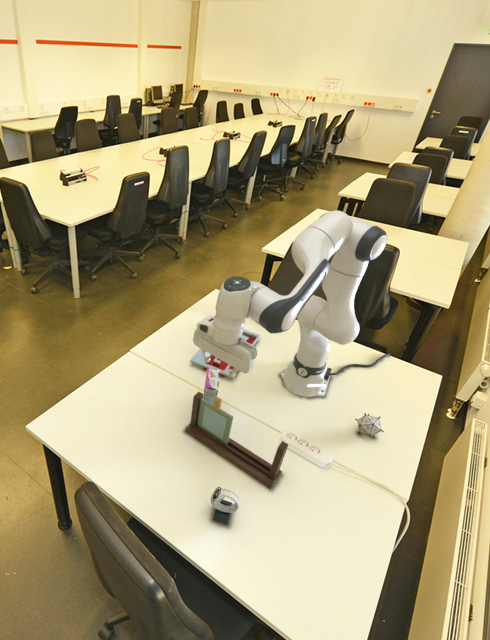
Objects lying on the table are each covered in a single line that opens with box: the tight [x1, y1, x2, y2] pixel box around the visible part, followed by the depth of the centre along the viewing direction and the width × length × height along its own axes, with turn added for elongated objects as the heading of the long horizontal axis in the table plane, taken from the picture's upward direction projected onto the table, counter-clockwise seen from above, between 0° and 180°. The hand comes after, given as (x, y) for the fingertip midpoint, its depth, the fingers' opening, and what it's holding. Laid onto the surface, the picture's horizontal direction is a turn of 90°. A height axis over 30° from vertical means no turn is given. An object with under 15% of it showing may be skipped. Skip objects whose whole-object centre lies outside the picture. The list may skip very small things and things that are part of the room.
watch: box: [210, 486, 240, 526], centre depth 113 cm, size 6×8×11 cm
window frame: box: [184, 391, 289, 490], centre depth 129 cm, size 7×34×17 cm, turn 48°
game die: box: [355, 412, 384, 438], centre depth 140 cm, size 9×8×10 cm
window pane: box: [197, 396, 234, 445], centre depth 132 cm, size 1×12×18 cm, turn 48°
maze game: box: [189, 329, 261, 379], centre depth 178 cm, size 35×20×3 cm, turn 148°
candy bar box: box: [203, 368, 221, 405], centre depth 145 cm, size 11×5×16 cm, turn 168°
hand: (219, 368), depth 120 cm, fingers open, 8 cm apart
